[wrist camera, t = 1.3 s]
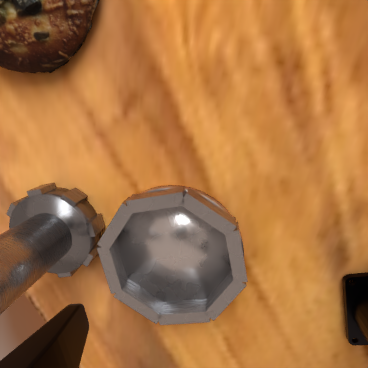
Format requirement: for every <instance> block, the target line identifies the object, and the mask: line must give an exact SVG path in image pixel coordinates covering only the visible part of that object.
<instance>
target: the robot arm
mask: <svg viewBox="0 0 368 368" xmlns="http://www.w3.org/2000/svg"><path fill="white" fill-rule="evenodd" d="M350 280H353V281H352V282H349V281H350ZM343 292H344V308H345V324H346V337H347V340H348V341H349V343H350V344H352V345H368V273H356V274H348V275H346V276H344V278H343ZM88 331H89V322H88V318H87V315H86V312H85V309H84V306H83V305H82V304H70V305H68V306H66V307H65V308H64V309H63V310H62V311H60V312H59V313H58V314H57V315H56V316H54V317H53V318H52V319H51V320H49V321H48V322H47V323H46V324H45V325H43V326H42V327H41V328H40V329H39V330H37V331H36V332H35V333H34V334H32V335H31V336H30V337H29V338H28V339H26V340H25V341H24V342H23V343H22V344H20V345H19V346H18V347H17V348H16V349H14V350H13V351H12V352H11V353H9V354H8V355H7V356H6V357H5V358H3V359H2V360H1V361H0V368H79V365H80V361H81V357H82V353H83V350H84V346H85V342H86V338H87V335H88ZM353 338H355V339H353Z"/></svg>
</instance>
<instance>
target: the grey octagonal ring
mask: <svg viewBox="0 0 368 368" xmlns="http://www.w3.org/2000/svg"><path fill="white" fill-rule="evenodd" d="M97 245H99V246H98V247H97V250H98V253H99V257H100V260H101V263H102V266H103V269H104V272H105V275H106V279H107V282H108V285H109V288H110V291H111V294H112V293H116V294H115V295H114V297H115V298H117V299H118V300H120V301H121V302H123V303H124V304H126V305H127V306H129V307H131V308H132V309H134V310H135V311H137V312H138V313H140V314H141V315H143V316H144V317H146V318H148V319H149V320H151V321H152V322H154V323H155V324H157V323H158V321H159V323H160V325H170V324H187V323H204V322H210V319H212V320H215V319H216V318H217V317H218V316H219V315H220V314H221V312H222V311H223V310H224V309H225V308H226V307H227V306H228V305H229V304H230V303H231V302H232V301H233V299H234V298H235V297H236V296H237V295H238V294H239V293H240V292H241V291H242V290H243V289H244V288H245V287H246V282H248V281H247V275H246V268H245V262H244V250H243V242H242V237H241V233H240V231H239V226H238V222H236V218H235V217H233V216H232V215H231V214H230V213H229V212H228V210H227V209H226V208H225V207H224V206H223V205H222V204H221V203H219V202H218V201H217V200H215V199H214V198H213V197H211V196H209V195H207V194H206V193H203V192H201V191H199V190H196V189H193V188H190V187H185V186H176V185H168V186H159V187H155V188H151V189H148V190H146V191H143V192H142V193H139V194H133V195H132V196H131V197H128V198H127V199H126V200H125V201H124V202H123V203H122V205H121V206H120V208H119V210H118V211H117V213H116V214H115V216H114V218H113V219H112V221H111V223H110V224H109V226H108V227H107V229H106V231H105V232H104V234H103V235H102V237H101V239H100V240H99V242H98V244H97Z"/></svg>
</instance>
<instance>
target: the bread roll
mask: <svg viewBox="0 0 368 368" xmlns="http://www.w3.org/2000/svg"><path fill="white" fill-rule="evenodd" d="M98 1H99V0H0V66H1V67H4V68H6V69H9V70H14V71H19V72H30V73H36V72H49V73H51V72H53V71H54V70H55V69H57V68H59V67H61V66H63V65H65V64H66V63H67V62H68V61H69V60H68V59H69V58H70V57H72V56H74V55H75V53H76V52H77V51H78V50H79V49H80V47H81V46H82V43H83V42H84V40H85V38H86V36H87V34H88V32H89V29H91V27H92V20H91V18H92V15H93V12H94V11H95V8H96V7H97V4H98Z"/></svg>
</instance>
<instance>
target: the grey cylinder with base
mask: <svg viewBox="0 0 368 368" xmlns="http://www.w3.org/2000/svg"><path fill="white" fill-rule="evenodd" d="M27 193H28V196H29V197H28V196H27V197H24V198H22V199H20V200H17V201H15V202H13V203H11V205H10V207H9V210H8V212H7V215H8V216H10V223H9V228H10V229H9V230H8V231H6V232H4V233H2V234H0V315H1V314H2V313H3V312H4V311H5V310H6V309H7V308H8V307H9V306H10V305H11V304H12V303H13V302H15V301H16V300H17V299H18V298H19V297H20V296H21V295H22V294H23V293H24V292H26V291H27V290H28V289H29V288H30V287H31V286H32V285H33V284H34V283H35V282H36V281H37V280H39V279H40V278H41V277H42V276H43V275H44V274H45V273H46V272H49V273H56V274H58V277H68V276H72V275H73V274H74V272H75V271H76V270H77V269H78V268H79V267H80V266H81V265H82V264H84V265H85V266H88V265H89V264H90V263H91V262H92V260H93V259H94V258H95V257H96V256H97V255H98V250H97V247H98V246H99V245H97V244H98V242H99V240H100V238H101V230H102V229H103V228H104V227H105V224H104V221H103V218H102V215H101V214H97V213H96V211H95V210H94V208H93V207H92V205H91V204H90V203H89V202H88V201H87V200H86V198H87V195H86V194H84V193H83V192H81V191H80V190H78V189H77V188H74V189H72V190H69V189H65V188H56V186H55V183H50V184H45V185H41V186H39V187H36V188H34V189H31V190H29V191H27Z"/></svg>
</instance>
